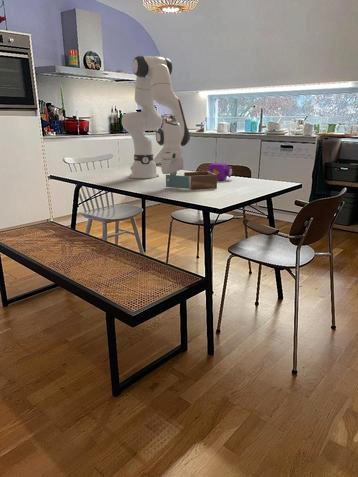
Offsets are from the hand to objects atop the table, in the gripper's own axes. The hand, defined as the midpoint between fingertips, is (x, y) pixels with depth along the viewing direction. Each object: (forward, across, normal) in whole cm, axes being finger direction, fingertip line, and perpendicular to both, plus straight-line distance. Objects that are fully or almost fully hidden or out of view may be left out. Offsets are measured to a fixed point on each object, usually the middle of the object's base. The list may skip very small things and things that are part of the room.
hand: (173, 180), depth 200 cm
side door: (+4, +3, +4) cm, 6 cm away
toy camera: (+4, -34, +15) cm, 38 cm away
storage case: (+4, -8, +12) cm, 15 cm away
